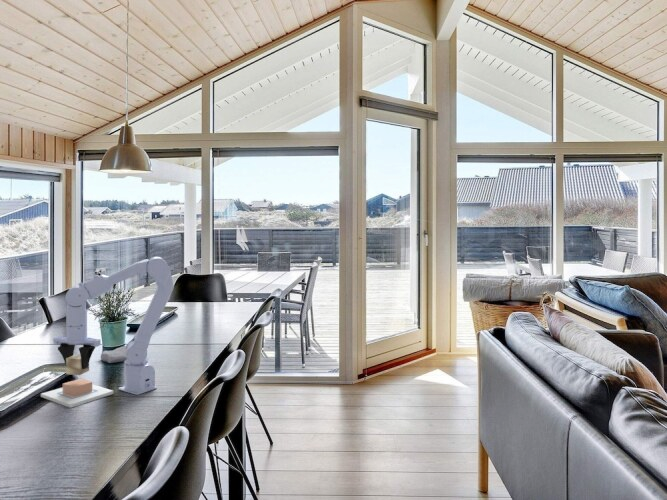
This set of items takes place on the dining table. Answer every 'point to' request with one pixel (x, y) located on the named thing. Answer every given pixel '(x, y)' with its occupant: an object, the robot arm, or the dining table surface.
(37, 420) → the dining table surface
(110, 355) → the stone block
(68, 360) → the maple block
